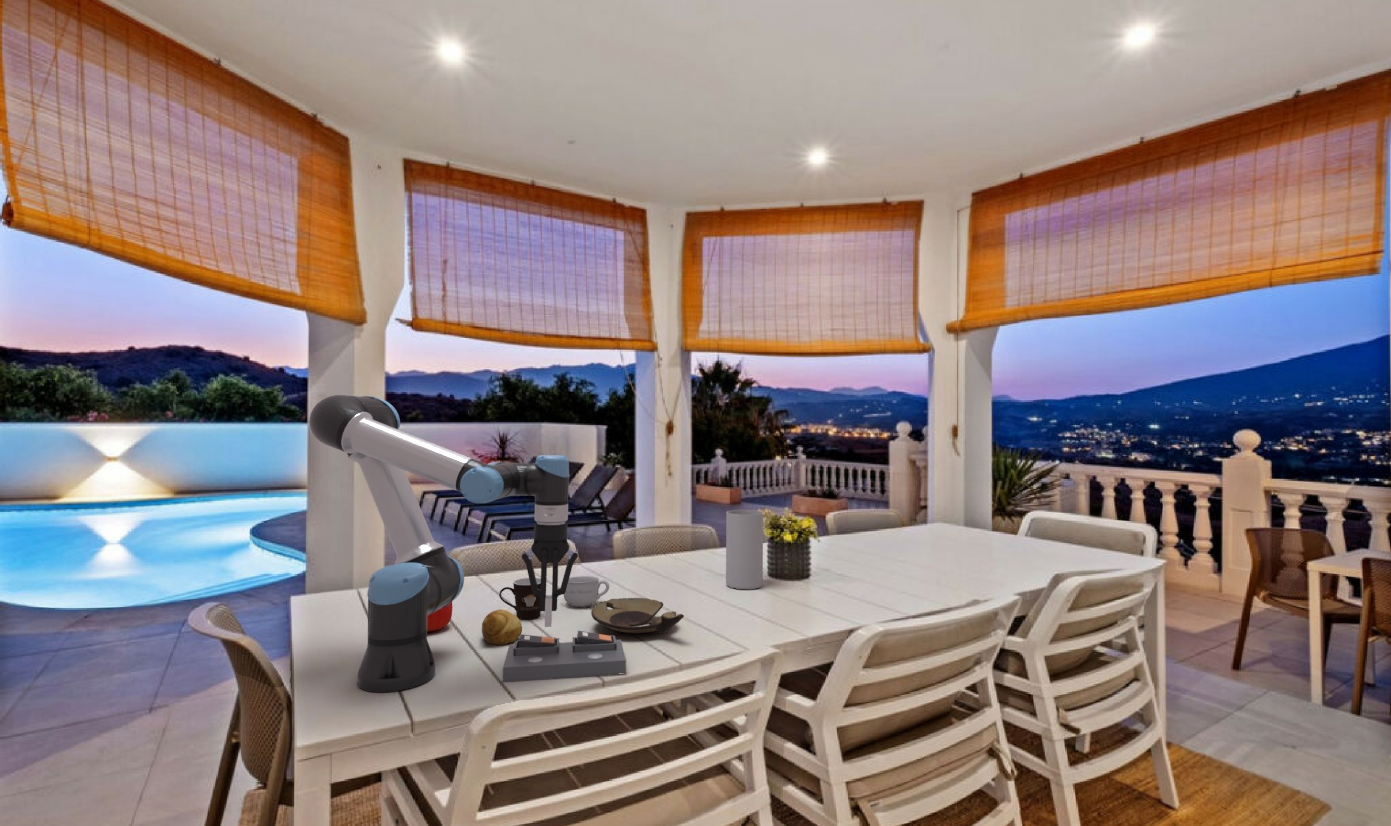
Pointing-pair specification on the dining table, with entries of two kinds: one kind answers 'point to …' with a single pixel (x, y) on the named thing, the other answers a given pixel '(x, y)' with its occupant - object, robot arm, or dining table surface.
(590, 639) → the right rocker
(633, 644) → the dining table surface
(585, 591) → the teacup
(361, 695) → the dining table surface
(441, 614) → the tomato
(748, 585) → the cylinder vase
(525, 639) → the left rocker
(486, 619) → the bread roll
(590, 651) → the rocker switch box
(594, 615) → the oil lamp
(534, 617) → the coffee mug
